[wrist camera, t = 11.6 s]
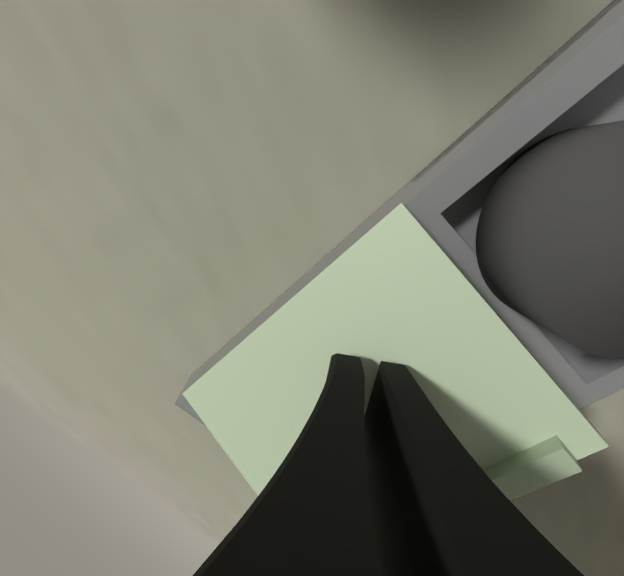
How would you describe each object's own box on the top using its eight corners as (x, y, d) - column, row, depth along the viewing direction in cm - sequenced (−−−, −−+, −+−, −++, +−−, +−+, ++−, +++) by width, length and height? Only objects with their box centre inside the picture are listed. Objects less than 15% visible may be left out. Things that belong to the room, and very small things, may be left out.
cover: (594, 426, 8) (619, 460, 7) (323, 551, 12) (309, 589, 11) (404, 204, 9) (399, 201, 8) (197, 383, 12) (171, 400, 11)
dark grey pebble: (696, 211, 10) (832, 224, 7) (556, 348, 11) (633, 398, 8) (582, 80, 8) (698, 42, 6) (436, 247, 9) (487, 271, 7)
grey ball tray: (938, 174, 9) (1075, 187, 7) (343, 491, 17) (342, 534, 15) (817, -181, 7) (974, -279, 5) (190, 376, 14) (169, 411, 13)
